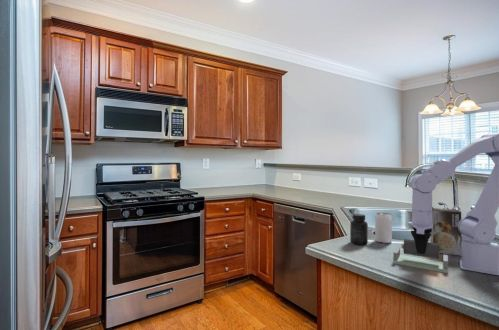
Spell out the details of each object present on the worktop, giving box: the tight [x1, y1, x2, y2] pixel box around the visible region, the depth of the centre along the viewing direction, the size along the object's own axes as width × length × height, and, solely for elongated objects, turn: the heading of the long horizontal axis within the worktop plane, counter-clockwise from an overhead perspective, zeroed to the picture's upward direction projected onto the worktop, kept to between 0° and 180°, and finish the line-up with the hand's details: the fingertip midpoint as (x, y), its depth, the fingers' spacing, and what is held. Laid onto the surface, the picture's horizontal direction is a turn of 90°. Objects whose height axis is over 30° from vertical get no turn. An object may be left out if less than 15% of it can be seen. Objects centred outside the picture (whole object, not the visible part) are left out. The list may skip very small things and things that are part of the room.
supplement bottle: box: [349, 213, 369, 247], centre depth 120 cm, size 7×7×12 cm
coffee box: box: [430, 207, 462, 256], centre depth 109 cm, size 9×6×16 cm
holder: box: [392, 247, 449, 274], centre depth 96 cm, size 15×8×4 cm, turn 56°
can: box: [374, 212, 393, 244], centre depth 123 cm, size 6×6×12 cm
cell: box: [400, 238, 440, 260], centre depth 96 cm, size 11×5×5 cm, turn 56°
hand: (421, 251), depth 96 cm, fingers closed on cell, 5 cm apart
